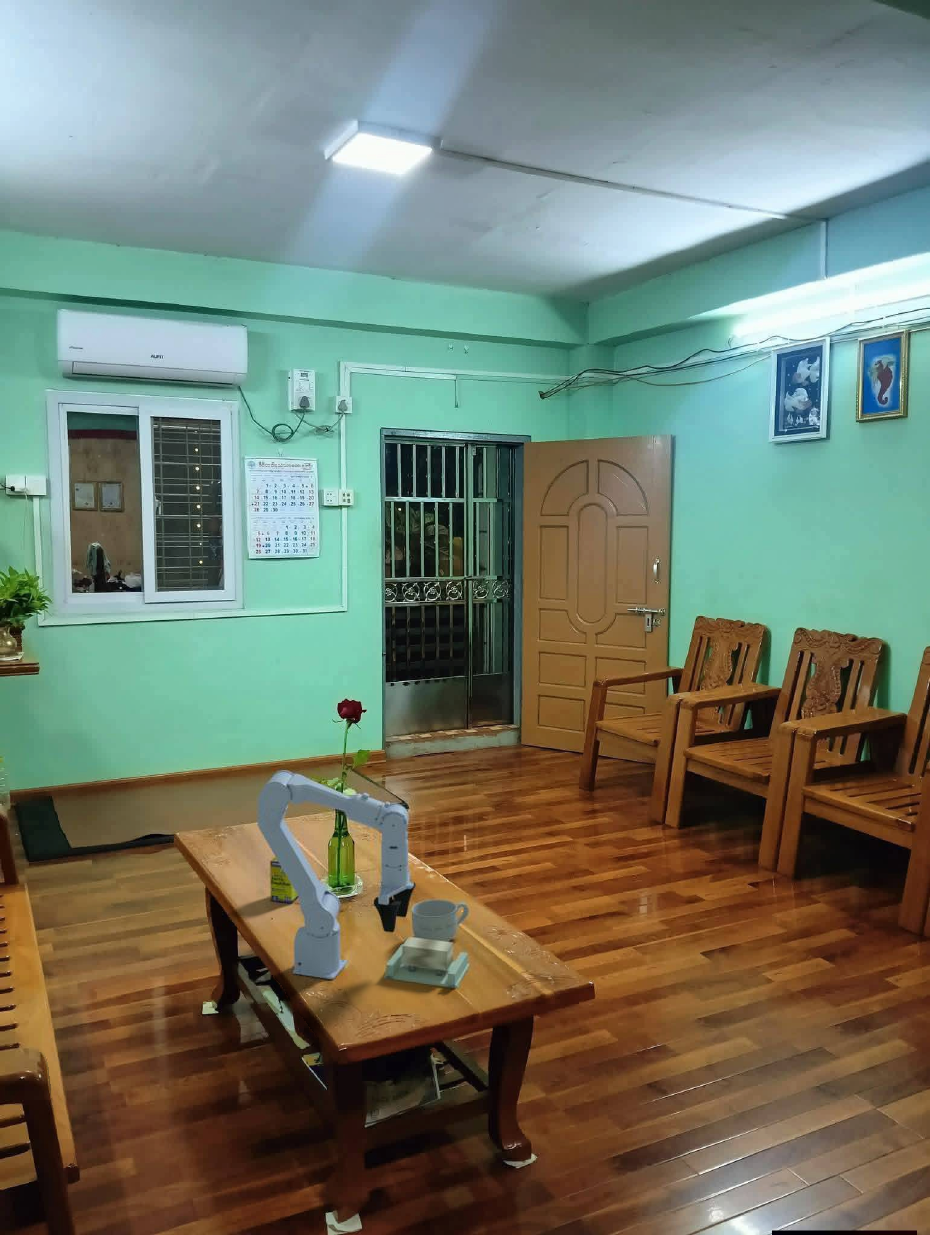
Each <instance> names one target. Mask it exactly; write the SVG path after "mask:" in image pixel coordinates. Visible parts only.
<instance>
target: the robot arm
mask: <svg viewBox="0 0 930 1235" xmlns="http://www.w3.org/2000/svg"><path fill="white" fill-rule="evenodd" d="M290 802H292V806H297V805H300V804H302V803H305V802H311V803H312V802H313V803H315V804H318V805H321V806H324V807H325V806H326V807H328V808H332V809H334V810H338V811H341V812H344V814H345V815H346V817H347V819H348V820H349V821H353V822H355V823H358V824H361V825H364V826H367V827H369V828H372V829H375V830H379V831H380V834H381V836H382V837H381V844H380V845H381V846H380V848H381V849H380V851H381V852H380V853H381V855H380V856H381V863H380V864H381V869H380V870H381V872H380V873H381V880H380V885H379V886H380V887H379V891H380V892H379V893H378V895H377V896H376V897H375V898H374V899H373V906H374V907H375V909H376V910H377V911H376V912H378V915H379V918H380V921H381V926H382V928H383V932H387V933H394V932H395V928H396V922H397V917H399V918H406V917H407V914H408V911H409V906H410V901H411V899H412V898H411V897H412V894H413V892H414V889H415V888H416V882H413V881H410V880H411V870H409V840H408V837H409V836H408V828H409V827H408V824H409V820H410V818H409V812H408V809H406V807H404V806H403V805H401V804H400V803H398V802H393V803H390V801H389V802H388V801H385V802H383V801H380V800H379V799H376V798H372V797H370V793H367V792H363V794H362V793H356V794H353V795H348V794H345V793H344V792H343V793H342V792H340V791H338V790H335V789H333V788H331V787H329V786H326V785H324V784H321V783H319V782H316V781H314V780H311V779H309V778H308V777H306V776H304V775H302V774H300V773H299V774H298V773H293V772H291V771H289V770H286V769H284V770H283V769H282V770H277V771H276V772H274V773H273V774H272V775H271V777H270V779H269V780H268V781H267V782H266V784H265V785H264V786H263V787H262V789H261V790H260V793H259V795H258V797H257V799H256V803H257V826H258V829H259V830H260V832H261V834H262V835H263V838H264V840H265V841H266V844H268V846H269V848H270V850H271V852H272V853H273V855H274V857H276V858H277V860H278V862H279V863H280V865H281V867H282V869H283V870H284V872H285V874H286V875H287V877H288V879H289V881H290V882H291V884H292V886H293V887H294V889H295V891H296V893H297V894H298V896H299V897H298V900H299V907H300V911H301V913H302V915H303V918H304V925H302V926H300V927H298V929H297V931H296V932H295V935H294V942H293V957H294V958H293V959H294V961H293V962H294V963H293V964H294V969H293V970H292V974H295V975H300V974H301V975H302V976H308V977H315V978H322V979H328V980H334V979H335V978H336V977H337V975H339V974H340V972H341V971H342V970H343V969H344V968H345V967H346V965H347V964H348V960H346V959H341V925H340V923H339V921H338V919H337V918H338V914H339V912H340V911H341V900H340V899H339V897H338V896H337V895H336V894H335V893H333V891H330V889H329V888H328V887H327V885H326V883H324V882H321V881H320V880H319V879H318V877H317V875H316V874H315V872H314V870H313V868H312V867H311V864H310V863H309V861H308V859H307V857H306V856H305V854H304V852H303V850H302V849H301V848H300V846H299V844H298V843H297V841H296V839H295V837H294V836H293V834H292V832H291V830H290V828H289V827H288V825H287V823H286V822H285V816H286V813H287V810H288V808H289V804H290ZM301 975H300V976H301Z"/></svg>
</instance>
